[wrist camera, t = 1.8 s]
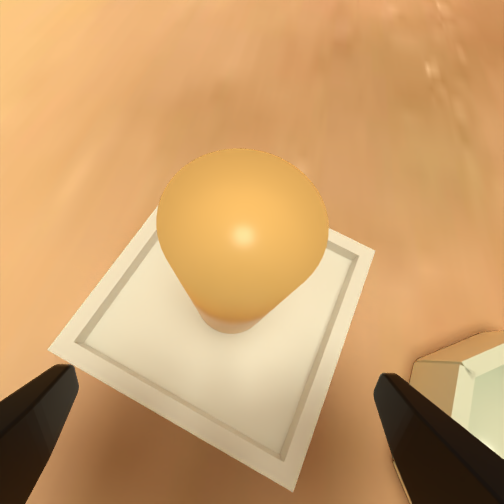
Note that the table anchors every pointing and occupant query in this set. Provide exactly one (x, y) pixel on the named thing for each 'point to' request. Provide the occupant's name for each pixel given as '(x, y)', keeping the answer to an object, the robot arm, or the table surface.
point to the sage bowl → (467, 386)
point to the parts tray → (220, 352)
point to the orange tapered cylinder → (241, 234)
